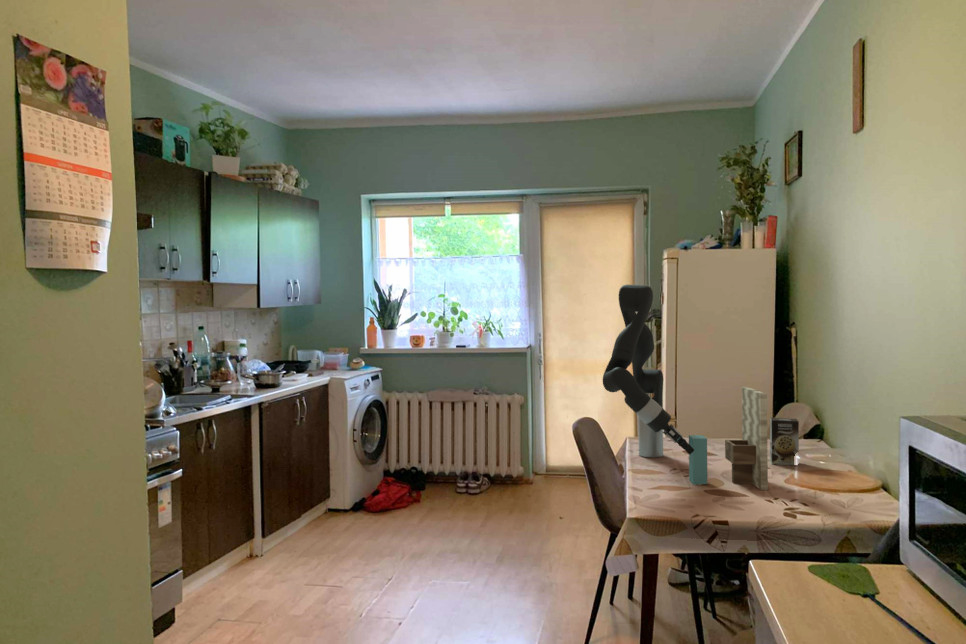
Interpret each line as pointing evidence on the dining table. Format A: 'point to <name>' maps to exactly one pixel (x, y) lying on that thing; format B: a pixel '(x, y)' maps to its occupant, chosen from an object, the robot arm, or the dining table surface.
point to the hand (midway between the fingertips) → (689, 449)
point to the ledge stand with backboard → (750, 442)
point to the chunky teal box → (698, 460)
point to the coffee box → (783, 440)
